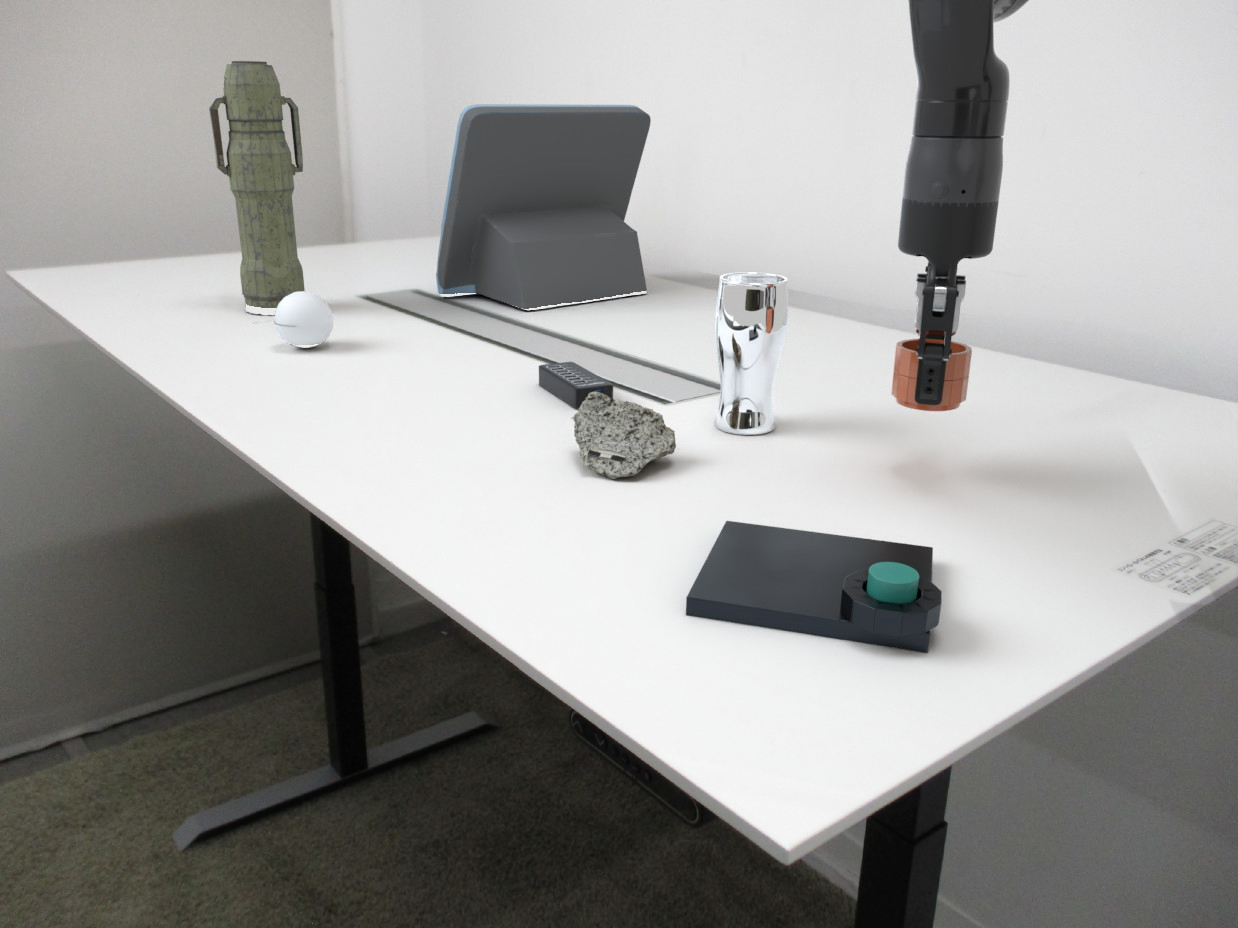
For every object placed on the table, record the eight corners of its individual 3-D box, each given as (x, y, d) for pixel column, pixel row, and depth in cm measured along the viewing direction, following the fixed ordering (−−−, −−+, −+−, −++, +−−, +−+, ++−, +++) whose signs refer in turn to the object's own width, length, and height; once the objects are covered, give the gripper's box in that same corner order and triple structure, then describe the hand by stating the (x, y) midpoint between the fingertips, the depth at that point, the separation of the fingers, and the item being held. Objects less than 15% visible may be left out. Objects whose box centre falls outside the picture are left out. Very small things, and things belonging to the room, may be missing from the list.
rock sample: (555, 442, 84) (598, 360, 88) (542, 472, 92) (582, 395, 95) (665, 498, 85) (703, 414, 88) (643, 523, 92) (680, 444, 95)
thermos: (228, 308, 153) (197, 61, 141) (306, 301, 159) (283, 63, 147) (241, 319, 146) (210, 60, 134) (322, 311, 152) (299, 62, 140)
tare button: (917, 587, 63) (919, 565, 63) (915, 609, 61) (918, 586, 60) (868, 580, 64) (870, 558, 64) (864, 601, 61) (867, 578, 61)
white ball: (333, 339, 135) (328, 285, 133) (338, 352, 129) (333, 295, 126) (254, 344, 132) (248, 288, 129) (256, 358, 125) (249, 299, 123)
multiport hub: (572, 380, 118) (572, 360, 117) (614, 405, 108) (614, 384, 108) (537, 384, 116) (537, 364, 115) (577, 410, 106) (577, 389, 106)
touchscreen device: (599, 274, 185) (603, 101, 174) (670, 294, 171) (680, 108, 160) (431, 296, 164) (424, 100, 153) (497, 320, 150) (495, 107, 139)
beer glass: (783, 437, 99) (795, 285, 94) (712, 436, 99) (720, 283, 94) (774, 416, 105) (785, 272, 100) (708, 415, 105) (715, 271, 100)
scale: (937, 565, 72) (942, 527, 71) (935, 663, 60) (941, 618, 59) (725, 537, 76) (727, 500, 75) (681, 623, 64) (683, 580, 63)
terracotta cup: (964, 396, 90) (971, 341, 88) (965, 415, 84) (972, 357, 83) (892, 390, 92) (897, 336, 90) (889, 409, 86) (894, 351, 84)
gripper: (1003, 204, 75) (975, 420, 80) (995, 189, 87) (971, 376, 93) (899, 201, 77) (879, 412, 82) (905, 187, 90) (888, 370, 95)
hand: (928, 392), depth 88 cm, fingers closed on terracotta cup, 6 cm apart
